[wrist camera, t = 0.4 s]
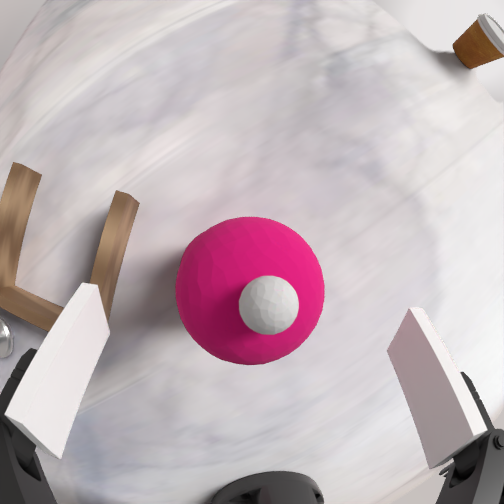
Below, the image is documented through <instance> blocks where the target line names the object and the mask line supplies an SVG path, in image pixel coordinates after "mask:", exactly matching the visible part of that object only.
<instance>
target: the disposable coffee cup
mask: <svg viewBox="0 0 504 504" xmlns="http://www.w3.org/2000/svg"><path fill="white" fill-rule="evenodd" d="M478 16H479V17H478V19H477V20H476V21H475V22H474V23H473V24H472V25H471V26H470V27H469V28H468V29H467V30H466V31H465V32H464V33H463V34H462V35H461V36H460V37H459V38H458V40H456V41H455V42H454V43H453V49H454V51H455V53H456V55H457V57H458V58H459V59H460V61H461V62H462V63H463V64H464V65H465V66H467V67H468V68H470V69H473V68H475V67H478V66H480V65H483V64H486V63H488V62H491V61H494V60H497V59H499V58H502V57H504V30H503V29H502V28H501V27H500V25H499V24H498V23H497V22H496V21H495V20H494V19H493V18H492V17H491V16H489V15H488V14H483V15H482V14H479V15H478Z"/></svg>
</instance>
